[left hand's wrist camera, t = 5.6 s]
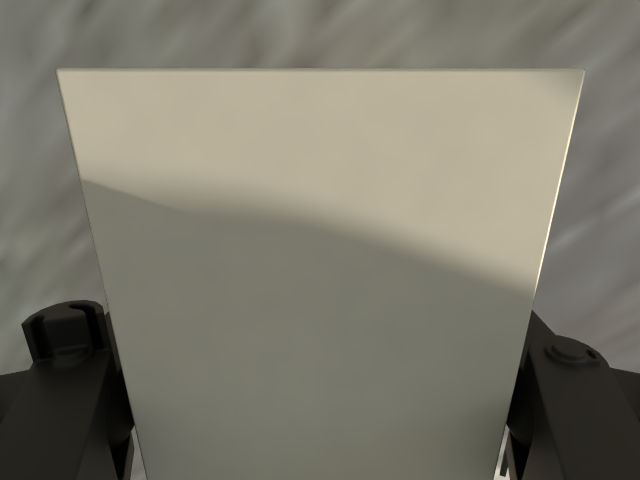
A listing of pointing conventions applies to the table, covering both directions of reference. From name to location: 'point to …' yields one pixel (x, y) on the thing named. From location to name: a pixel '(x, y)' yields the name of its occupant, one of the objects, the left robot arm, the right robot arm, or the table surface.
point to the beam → (320, 259)
